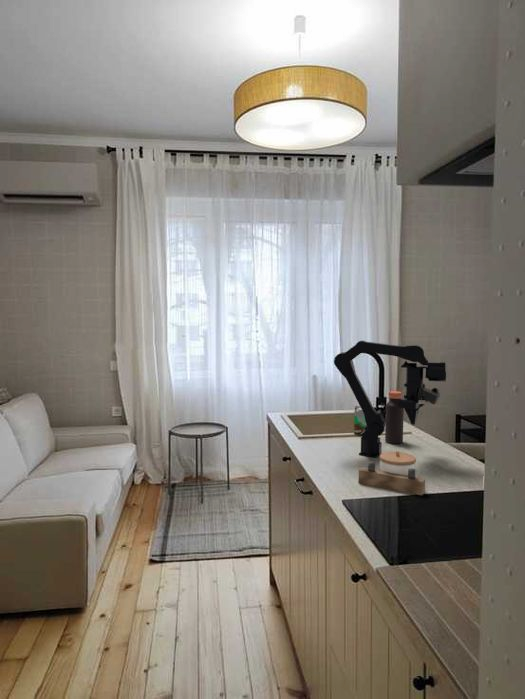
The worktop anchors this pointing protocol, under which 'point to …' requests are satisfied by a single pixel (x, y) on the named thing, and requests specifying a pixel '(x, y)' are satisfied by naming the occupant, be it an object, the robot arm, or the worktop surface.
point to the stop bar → (392, 480)
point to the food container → (359, 420)
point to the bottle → (394, 419)
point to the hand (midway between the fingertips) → (413, 424)
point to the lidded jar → (397, 462)
